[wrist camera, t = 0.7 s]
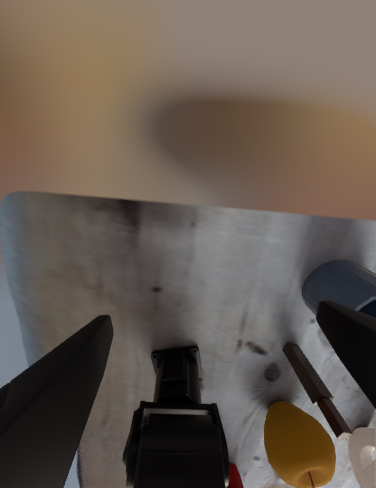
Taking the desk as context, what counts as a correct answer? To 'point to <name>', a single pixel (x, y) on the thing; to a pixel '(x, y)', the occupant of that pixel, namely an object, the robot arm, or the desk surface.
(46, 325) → the desk surface
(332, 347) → the robot arm
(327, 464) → the apple
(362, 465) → the cream globe logo
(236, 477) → the plastic cup
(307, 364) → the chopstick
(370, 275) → the cup
